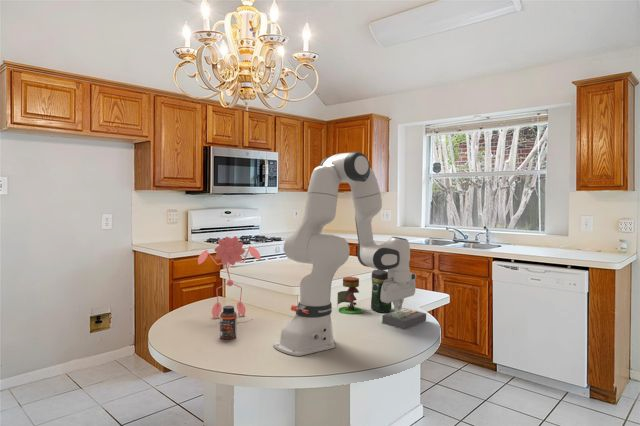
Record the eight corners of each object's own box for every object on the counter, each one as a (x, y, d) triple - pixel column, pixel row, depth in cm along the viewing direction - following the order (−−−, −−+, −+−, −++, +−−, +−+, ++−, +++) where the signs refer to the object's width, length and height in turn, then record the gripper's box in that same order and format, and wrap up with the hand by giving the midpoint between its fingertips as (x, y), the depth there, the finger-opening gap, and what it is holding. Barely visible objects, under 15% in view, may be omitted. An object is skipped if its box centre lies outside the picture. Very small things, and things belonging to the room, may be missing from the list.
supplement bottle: (220, 340, 154) (220, 309, 154) (219, 335, 160) (219, 305, 159) (237, 339, 156) (237, 308, 155) (235, 333, 162) (236, 304, 161)
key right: (412, 318, 180) (412, 312, 180) (405, 316, 183) (405, 310, 183) (416, 317, 183) (417, 311, 183) (409, 315, 185) (409, 309, 185)
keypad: (404, 329, 170) (405, 321, 170) (382, 323, 178) (382, 315, 177) (426, 321, 181) (426, 313, 181) (404, 315, 189) (404, 308, 189)
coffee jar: (394, 311, 195) (395, 271, 194) (380, 313, 192) (380, 272, 191) (382, 306, 204) (382, 268, 203) (368, 308, 200) (368, 269, 199)
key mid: (405, 318, 177) (405, 311, 177) (398, 316, 179) (398, 310, 179) (410, 316, 179) (410, 310, 179) (403, 314, 182) (403, 308, 182)
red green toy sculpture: (368, 309, 198) (369, 277, 198) (355, 315, 188) (356, 282, 187) (346, 305, 205) (347, 274, 204) (332, 311, 194) (333, 278, 194)
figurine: (197, 315, 184) (198, 234, 182) (257, 312, 191) (258, 234, 189) (197, 327, 170) (197, 239, 167) (262, 323, 176) (263, 238, 174)
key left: (398, 320, 173) (398, 314, 173) (391, 318, 176) (391, 312, 176) (403, 318, 176) (403, 312, 176) (396, 317, 178) (396, 310, 178)
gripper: (390, 281, 166) (389, 316, 166) (418, 274, 180) (417, 306, 181) (377, 278, 170) (376, 313, 171) (405, 272, 185) (405, 303, 185)
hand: (397, 309), depth 176 cm, fingers closed
